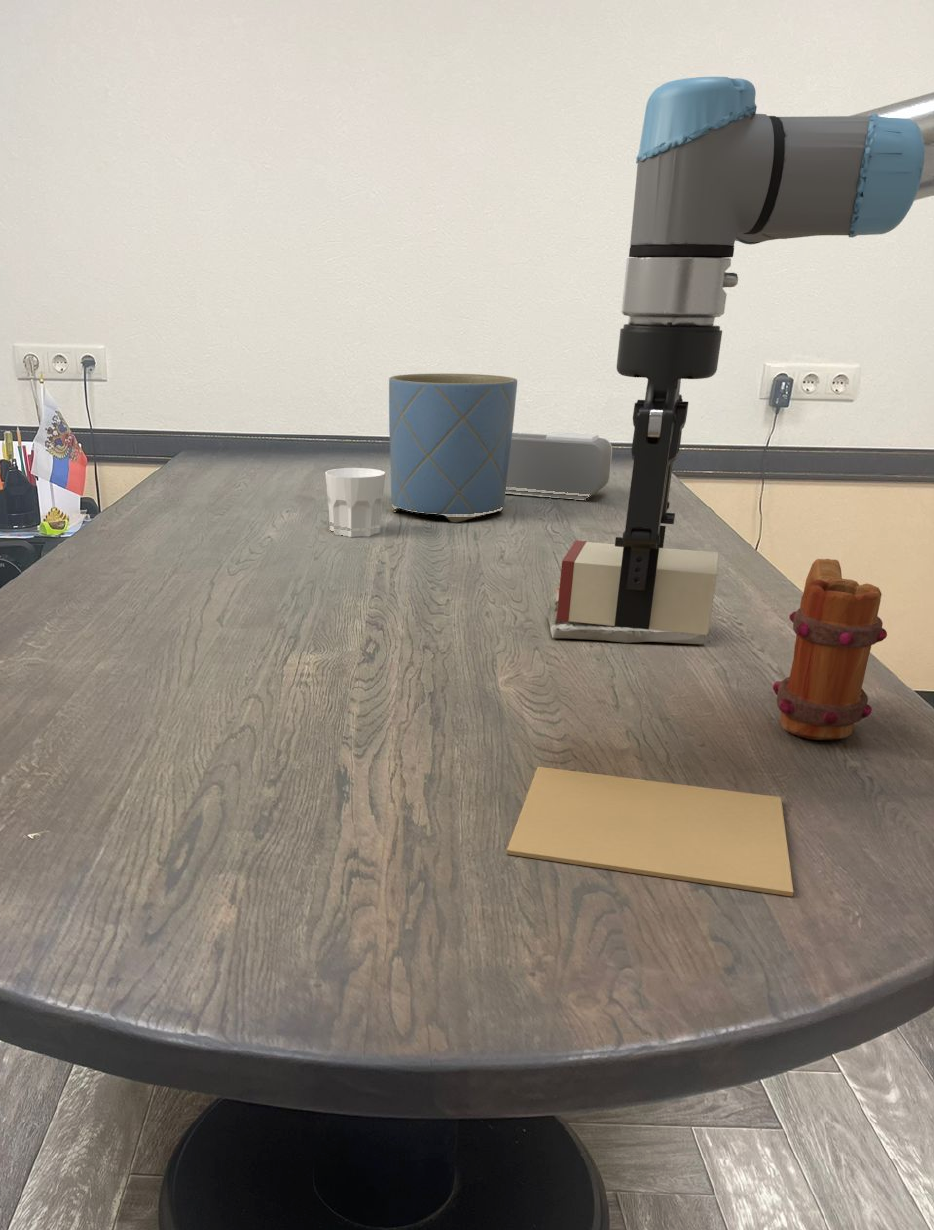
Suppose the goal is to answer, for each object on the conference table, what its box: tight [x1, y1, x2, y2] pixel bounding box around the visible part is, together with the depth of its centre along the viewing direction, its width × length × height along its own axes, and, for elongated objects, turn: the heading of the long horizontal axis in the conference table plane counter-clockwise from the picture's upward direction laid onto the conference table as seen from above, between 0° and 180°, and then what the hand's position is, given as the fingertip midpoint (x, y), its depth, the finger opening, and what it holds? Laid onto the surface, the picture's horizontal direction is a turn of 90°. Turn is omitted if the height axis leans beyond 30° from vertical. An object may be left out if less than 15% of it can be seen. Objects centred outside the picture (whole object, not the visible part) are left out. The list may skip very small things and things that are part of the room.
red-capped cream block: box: [557, 539, 720, 636], centre depth 90 cm, size 8×12×5 cm
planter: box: [388, 373, 518, 523], centre depth 196 cm, size 23×23×24 cm
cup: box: [324, 467, 386, 538], centre depth 182 cm, size 10×10×10 cm
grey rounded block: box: [505, 431, 613, 501], centre depth 217 cm, size 27×9×12 cm, turn 66°
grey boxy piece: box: [547, 587, 706, 645], centre depth 131 cm, size 18×5×10 cm
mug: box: [772, 558, 888, 741], centre depth 102 cm, size 15×8×15 cm, turn 170°
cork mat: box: [506, 766, 794, 898], centre depth 84 cm, size 20×16×1 cm
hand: (636, 612), depth 91 cm, fingers closed on red-capped cream block, 8 cm apart
